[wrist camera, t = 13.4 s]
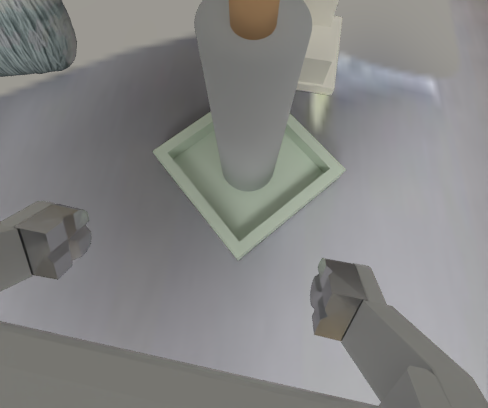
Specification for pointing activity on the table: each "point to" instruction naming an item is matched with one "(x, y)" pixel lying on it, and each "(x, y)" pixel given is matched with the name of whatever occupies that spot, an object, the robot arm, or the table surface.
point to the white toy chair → (321, 48)
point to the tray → (243, 202)
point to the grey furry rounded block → (35, 37)
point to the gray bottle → (251, 79)
